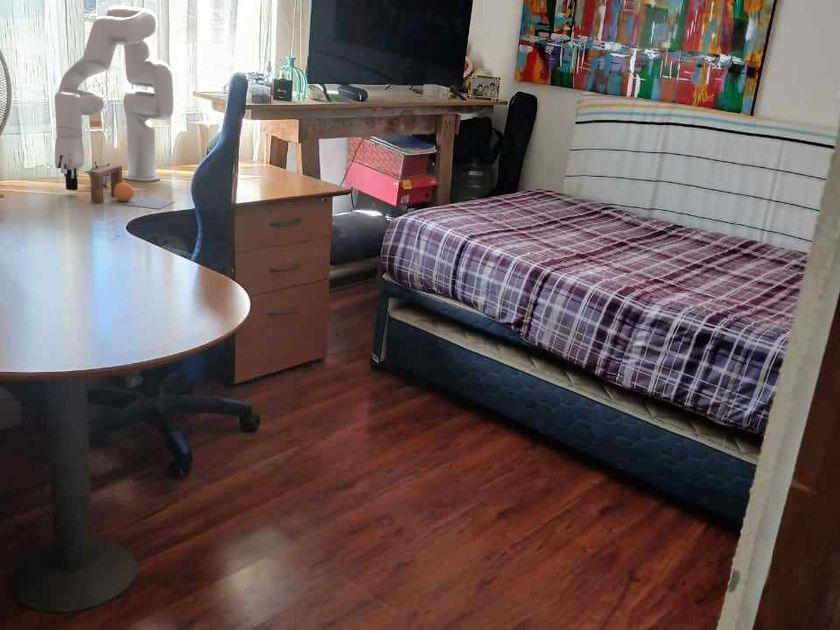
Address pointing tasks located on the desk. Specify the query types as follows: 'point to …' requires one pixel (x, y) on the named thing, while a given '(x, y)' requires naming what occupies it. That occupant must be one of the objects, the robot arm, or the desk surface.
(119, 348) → the desk surface
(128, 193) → the ball
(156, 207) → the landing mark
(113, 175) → the bridge
